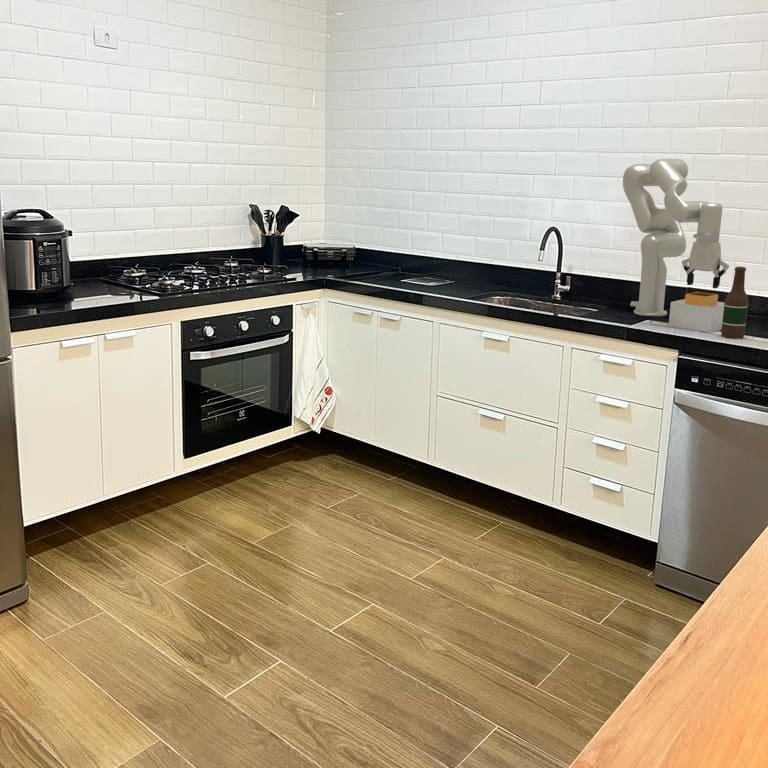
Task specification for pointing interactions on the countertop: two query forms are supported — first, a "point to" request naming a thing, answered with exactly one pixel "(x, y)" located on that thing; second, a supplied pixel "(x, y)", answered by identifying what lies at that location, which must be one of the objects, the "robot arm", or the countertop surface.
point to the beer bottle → (735, 307)
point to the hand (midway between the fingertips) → (702, 286)
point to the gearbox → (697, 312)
